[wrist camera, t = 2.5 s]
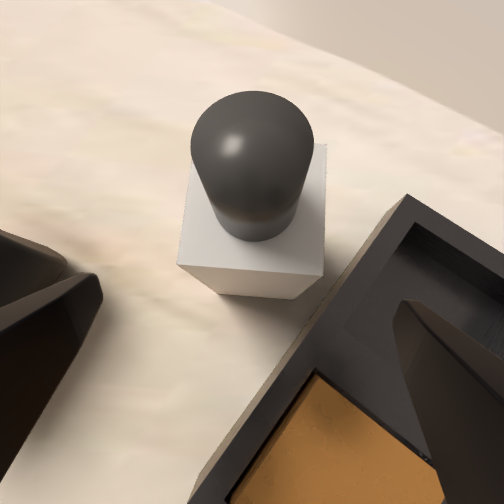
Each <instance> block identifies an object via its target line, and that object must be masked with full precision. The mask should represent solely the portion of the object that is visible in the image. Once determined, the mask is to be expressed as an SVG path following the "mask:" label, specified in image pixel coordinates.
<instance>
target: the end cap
mask: <svg viewBox="0 0 504 504" xmlns="http://www.w3.org/2000/svg"><path fill="white" fill-rule="evenodd" d="M66 264H67V261H66V259H65V258H64V257H63V256H62V255H60V254H59V253H57V252H56V251H54V250H52V249H50V248H48V247H46V246H43V245H40V244H38V243H35V242H32V241H30V240H27V239H24V238H21V237H19V236H16V235H13V234H10V233H8V232H5V231H2V230H1V229H0V308H2V307H4V306H6V305H8V304H11V303H13V302H15V301H18V300H20V299H22V298H24V297H27V296H29V295H31V294H33V293H36V292H38V291H40V290H43V289H45V288H47V287H49V286H52V285H53V284H54V282H55V281H56V279H57V278H58V276H59V275H60V273H61V272H62V270H63V269H64V267H65V266H66Z"/></svg>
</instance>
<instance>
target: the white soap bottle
mask: <svg viewBox="0 0 504 504" xmlns="http://www.w3.org/2000/svg"><path fill="white" fill-rule="evenodd" d="M191 156H192V164H191V170H190V177H189V184H188V190H187V197H186V203H185V210H184V217H183V223H182V230H181V237H180V243H179V250H178V257H177V263H176V264H177V265H178V266H179V267H181V268H182V269H184V270H185V271H186V272H188V273H189V274H191V275H192V276H193V277H195V278H196V279H198V280H199V281H200V282H202V283H203V284H205V285H206V286H207V287H209V288H210V289H212V290H213V291H214V292H216V293H217V294H229V295H241V296H253V297H265V298H277V299H289V300H294V299H295V298H296V297H298V296H299V295H300V294H301V293H303V292H304V291H305V290H306V289H308V288H309V287H310V286H311V285H313V284H314V283H315V282H316V281H318V280H319V279H320V278H321V277H322V276H323V272H324V234H325V197H326V160H327V144H314V138H313V132H312V129H311V126H310V124H309V122H308V120H307V118H306V117H305V115H304V114H303V113H302V112H301V111H300V109H299V108H298V107H296V106H295V105H294V104H293V103H291V102H290V101H288V100H287V99H285V98H283V97H281V96H278V95H275V94H272V93H268V92H262V91H245V92H239V93H235V94H232V95H229V96H226V97H224V98H222V99H220V100H218V101H217V102H215V103H214V104H212V105H211V106H210V107H209V108H208V109H207V110H206V111H205V112H204V113H203V114H202V115H201V117H200V118H199V120H198V121H197V123H196V125H195V127H194V130H193V133H192V137H191Z"/></svg>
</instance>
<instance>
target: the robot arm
mask: <svg viewBox="0 0 504 504" xmlns="http://www.w3.org/2000/svg"><path fill="white" fill-rule="evenodd" d="M102 301H103V293H102V289H101V286H100V282H99V279H98V276H97V275H96V274H94V273H79V274H77V275H74V276H72V277H70V278H68V279H65V280H63V281H61V282H58V283H56V284H54V285H52V286H49V287H47V288H45V289H43V290H40V291H38V292H36V293H33V294H31V295H29V296H27V297H24V298H22V299H20V300H18V301H15V302H13V303H11V304H8V305H6V306H4V307H2V308H0V482H1V481H2V479H3V477H4V476H5V474H6V472H7V471H8V469H9V467H10V466H11V464H12V462H13V461H14V459H15V457H16V456H17V454H18V452H19V451H20V449H21V447H22V446H23V444H24V442H25V441H26V439H27V437H28V436H29V434H30V432H31V431H32V429H33V427H34V426H35V424H36V422H37V420H38V419H39V417H40V415H41V414H42V412H43V410H44V409H45V407H46V405H47V404H48V402H49V400H50V399H51V397H52V395H53V394H54V392H55V390H56V389H57V387H58V385H59V384H60V382H61V380H62V379H63V377H64V375H65V374H66V372H67V370H68V369H69V367H70V365H71V364H72V362H73V360H74V359H75V357H76V355H77V354H78V352H79V350H80V348H81V346H82V344H83V342H84V340H85V338H86V336H87V334H88V332H89V330H90V328H91V326H92V323H93V321H94V319H95V317H96V315H97V313H98V310H99V308H100V306H101V304H102ZM392 326H393V331H394V336H395V341H396V345H397V350H398V354H399V359H400V363H401V368H402V372H403V376H404V379H405V382H406V386H407V388H408V391H409V394H410V397H411V400H412V403H413V406H414V409H415V412H416V415H417V418H418V421H419V423H420V426H421V429H422V432H423V435H424V438H425V441H426V444H427V447H428V450H429V453H430V456H431V458H432V461H433V464H434V467H435V470H436V473H437V476H438V479H439V482H440V485H441V488H442V491H443V493H444V496H445V499H446V502H447V504H504V361H503V360H502V359H501V358H499V357H498V356H496V355H495V354H494V353H492V352H491V351H489V350H488V349H486V348H485V347H484V346H482V345H481V344H479V343H478V342H477V341H475V340H474V339H472V338H471V337H470V336H468V335H467V334H465V333H464V332H462V331H461V330H460V329H458V328H457V327H455V326H454V325H453V324H451V323H450V322H448V321H447V320H445V319H444V318H443V317H441V316H440V315H438V314H437V313H436V312H434V311H433V310H431V309H430V308H429V307H427V306H426V305H424V304H423V303H421V302H420V301H418V300H413V299H403V300H401V301H400V303H399V306H398V308H397V311H396V313H395V316H394V318H393V323H392Z"/></svg>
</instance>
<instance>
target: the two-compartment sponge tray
mask: <svg viewBox="0 0 504 504" xmlns="http://www.w3.org/2000/svg"><path fill="white" fill-rule="evenodd" d="M403 299H413V300H418V301H420V302H421V303H423V304H424V305H426V306H427V307H429V308H430V309H431V310H433V311H434V312H436V313H437V314H438V315H440V316H441V317H443V318H444V319H445V320H447V321H448V322H450V323H451V324H453V325H454V326H455V327H457V328H458V329H460V330H461V331H462V332H464V333H465V334H467V335H468V336H470V337H471V338H472V339H474V340H475V341H477V342H478V343H479V344H481V345H482V346H484V347H485V348H486V349H488V350H489V351H491V352H492V353H494V354H495V355H496V356H498V357H499V358H501V359H502V360H503V361H504V254H503V253H501V252H499V251H498V250H496V249H495V248H493V247H491V246H490V245H488V244H487V243H485V242H484V241H482V240H480V239H479V238H477V237H476V236H474V235H472V234H471V233H469V232H468V231H466V230H464V229H463V228H461V227H460V226H458V225H456V224H455V223H453V222H452V221H450V220H449V219H447V218H445V217H444V216H442V215H441V214H439V213H437V212H436V211H434V210H433V209H431V208H429V207H428V206H426V205H425V204H423V203H422V202H420V201H418V200H417V199H415V198H414V197H412V196H410V195H409V194H406V195H405V196H404V197H403V198H402V199H401V200H399V201H398V202H397V203H396V204H395V205H394V206H393V207H392V208H391V209H390V210H388V211H387V212H386V214H385V215H384V216H383V218H382V219H381V221H380V222H379V223H378V225H377V226H376V227H375V229H374V230H373V232H372V233H371V234H370V236H369V237H368V239H367V240H366V241H365V243H364V244H363V246H362V247H361V248H360V250H359V251H358V253H357V254H356V255H355V257H354V258H353V260H352V261H351V262H350V264H349V265H348V267H347V268H346V269H345V271H344V272H343V274H342V275H341V276H340V278H339V279H338V281H337V282H336V283H335V285H334V286H333V288H332V289H331V290H330V292H329V293H328V295H327V296H326V297H325V299H324V300H323V302H322V303H321V304H320V306H319V307H318V309H317V310H316V311H315V313H314V314H313V316H312V317H311V318H310V320H309V321H308V323H307V324H306V325H305V327H304V328H303V330H302V331H301V332H300V334H299V335H298V337H297V338H296V339H295V341H294V342H293V344H292V345H291V346H290V348H289V349H288V351H287V352H286V353H285V355H284V356H283V358H282V359H281V360H280V362H279V363H278V365H277V366H276V367H275V369H274V370H273V372H272V373H271V374H270V376H269V377H268V379H267V380H266V381H265V383H264V384H263V386H262V387H261V388H260V390H259V391H258V393H257V394H256V395H255V397H254V398H253V400H252V401H251V402H250V404H249V405H248V406H247V408H246V409H245V411H244V412H243V413H242V415H241V416H240V418H239V419H238V420H237V422H236V423H235V425H234V426H233V427H232V429H231V430H230V432H229V433H228V434H227V436H226V437H225V439H224V440H223V441H222V443H221V444H220V446H219V447H218V448H217V450H216V451H215V453H214V454H213V455H212V457H211V458H210V460H209V461H208V462H207V464H206V465H205V467H204V468H203V469H202V471H201V472H200V474H199V476H198V478H197V481H196V483H195V485H194V488H193V490H192V493H191V495H190V497H189V500H188V502H187V504H447V502H446V499H445V496H444V493H443V491H442V488H441V485H440V482H439V479H438V476H437V473H436V470H435V467H434V464H433V461H432V458H431V456H430V453H429V450H428V447H427V444H426V441H425V438H424V435H423V432H422V429H421V426H420V423H419V421H418V418H417V415H416V412H415V409H414V406H413V403H412V400H411V397H410V394H409V391H408V388H407V386H406V382H405V379H404V376H403V372H402V368H401V363H400V359H399V354H398V350H397V345H396V341H395V336H394V331H393V326H392V323H393V318H394V316H395V313H396V311H397V308H398V306H399V303H400V301H401V300H403Z"/></svg>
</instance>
